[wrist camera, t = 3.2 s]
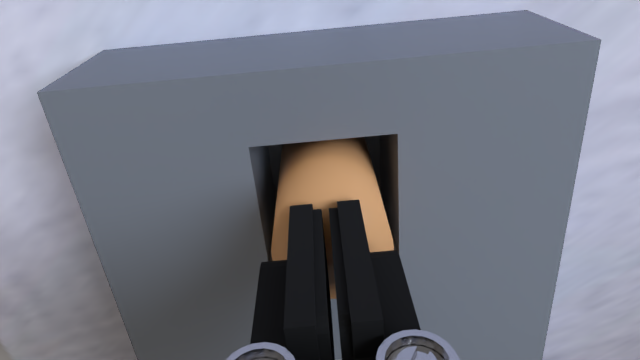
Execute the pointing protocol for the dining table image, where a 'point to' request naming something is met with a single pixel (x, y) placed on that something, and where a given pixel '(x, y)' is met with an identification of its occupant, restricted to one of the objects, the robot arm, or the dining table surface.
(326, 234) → the brown egg
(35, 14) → the dining table surface
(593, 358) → the dining table surface
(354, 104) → the panel
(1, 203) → the dining table surface
